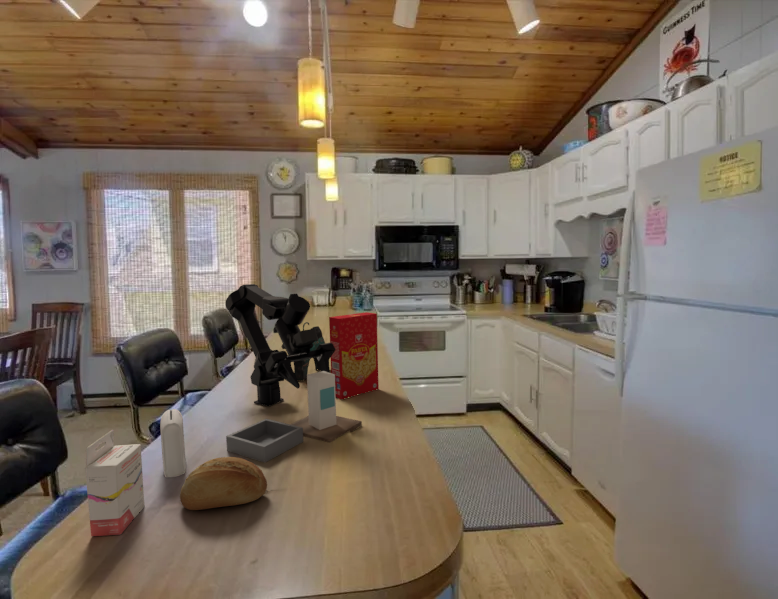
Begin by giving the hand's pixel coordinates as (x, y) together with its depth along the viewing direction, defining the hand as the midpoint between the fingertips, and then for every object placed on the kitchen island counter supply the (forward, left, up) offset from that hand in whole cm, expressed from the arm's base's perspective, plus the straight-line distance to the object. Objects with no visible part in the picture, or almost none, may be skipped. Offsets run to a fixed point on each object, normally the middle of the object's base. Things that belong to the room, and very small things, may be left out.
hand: (314, 383), depth 115 cm
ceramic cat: (-35, +38, -11) cm, 53 cm away
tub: (-1, -16, -11) cm, 20 cm away
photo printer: (-11, -32, -11) cm, 36 cm away
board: (+3, -1, -11) cm, 12 cm away
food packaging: (-7, +28, -11) cm, 31 cm away
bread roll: (+9, -36, -11) cm, 39 cm away
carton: (+3, -1, -10) cm, 10 cm away
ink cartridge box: (-2, -48, -11) cm, 50 cm away
